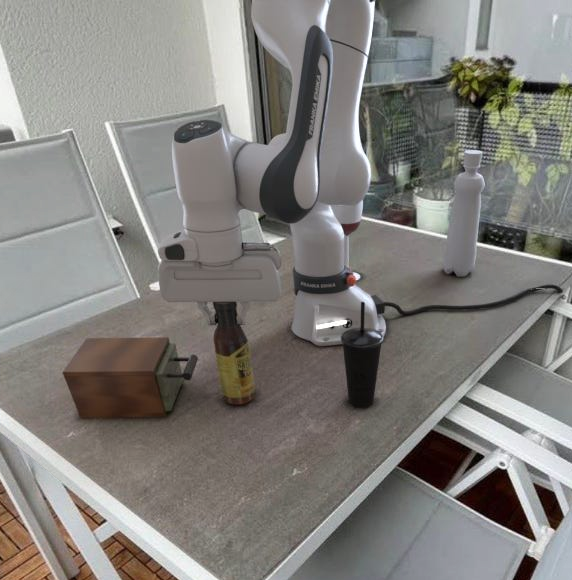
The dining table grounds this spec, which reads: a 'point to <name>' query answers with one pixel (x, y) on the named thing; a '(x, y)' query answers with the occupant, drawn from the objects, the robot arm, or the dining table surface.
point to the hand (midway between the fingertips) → (227, 323)
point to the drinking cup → (361, 362)
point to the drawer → (173, 374)
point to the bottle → (464, 218)
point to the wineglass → (349, 224)
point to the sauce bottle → (232, 355)
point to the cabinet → (117, 377)
